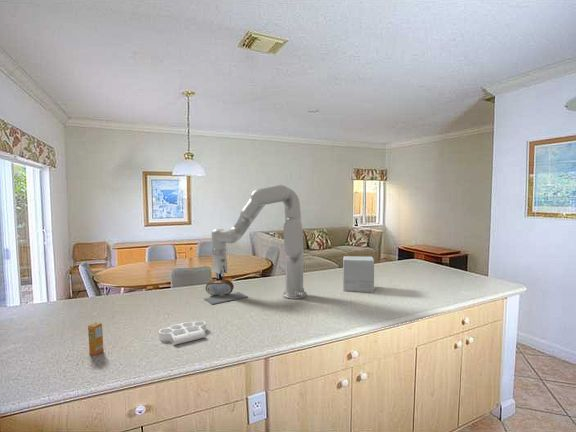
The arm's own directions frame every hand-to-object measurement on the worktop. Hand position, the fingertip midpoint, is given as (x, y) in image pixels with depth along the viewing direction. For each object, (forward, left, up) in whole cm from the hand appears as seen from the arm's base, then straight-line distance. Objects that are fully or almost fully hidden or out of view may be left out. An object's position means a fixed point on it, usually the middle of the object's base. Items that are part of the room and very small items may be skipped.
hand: (219, 285), depth 178 cm
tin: (-2, 0, -5) cm, 5 cm away
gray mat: (-9, 0, -5) cm, 10 cm away
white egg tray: (-41, +33, -6) cm, 53 cm away
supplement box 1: (-38, +62, -5) cm, 73 cm away
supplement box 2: (-37, -70, -6) cm, 79 cm away
